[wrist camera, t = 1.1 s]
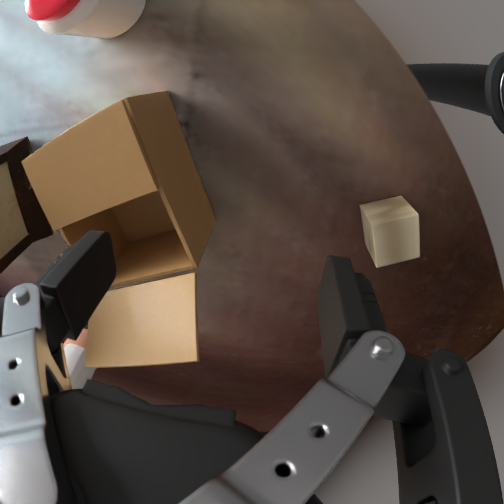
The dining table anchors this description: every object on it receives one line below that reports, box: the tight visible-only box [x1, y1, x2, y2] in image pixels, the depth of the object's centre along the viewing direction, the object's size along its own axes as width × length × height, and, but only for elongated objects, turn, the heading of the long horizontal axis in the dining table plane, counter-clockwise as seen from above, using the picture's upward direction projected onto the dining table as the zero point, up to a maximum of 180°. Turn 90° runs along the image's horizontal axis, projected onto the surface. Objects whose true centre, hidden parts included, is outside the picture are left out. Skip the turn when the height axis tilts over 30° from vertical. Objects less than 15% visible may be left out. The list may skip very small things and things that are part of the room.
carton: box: [22, 91, 216, 288], centre depth 27 cm, size 15×12×10 cm
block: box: [360, 196, 420, 268], centre depth 30 cm, size 5×5×5 cm
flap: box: [86, 272, 199, 368], centre depth 25 cm, size 7×12×1 cm
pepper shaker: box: [64, 328, 97, 389], centre depth 39 cm, size 7×7×19 cm
